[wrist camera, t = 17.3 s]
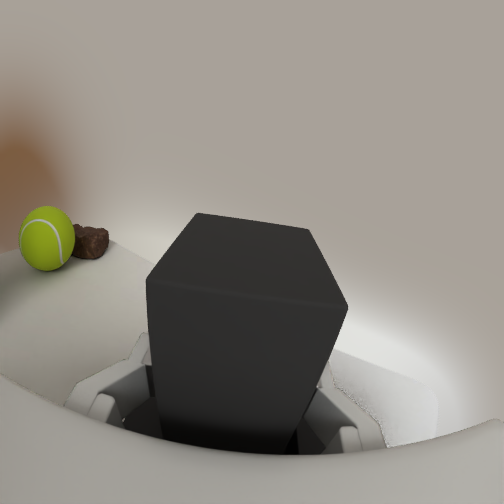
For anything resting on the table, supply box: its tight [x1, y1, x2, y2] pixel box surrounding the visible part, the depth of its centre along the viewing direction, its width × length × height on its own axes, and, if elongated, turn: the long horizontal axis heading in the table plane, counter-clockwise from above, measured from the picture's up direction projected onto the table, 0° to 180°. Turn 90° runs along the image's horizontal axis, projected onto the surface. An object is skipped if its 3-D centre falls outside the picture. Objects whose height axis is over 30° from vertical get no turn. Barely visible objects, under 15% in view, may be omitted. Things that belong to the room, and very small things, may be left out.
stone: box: [72, 224, 109, 259], centre depth 31 cm, size 8×3×5 cm
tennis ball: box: [19, 206, 75, 271], centre depth 25 cm, size 7×7×7 cm
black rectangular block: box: [146, 213, 348, 455], centre depth 10 cm, size 5×4×11 cm
